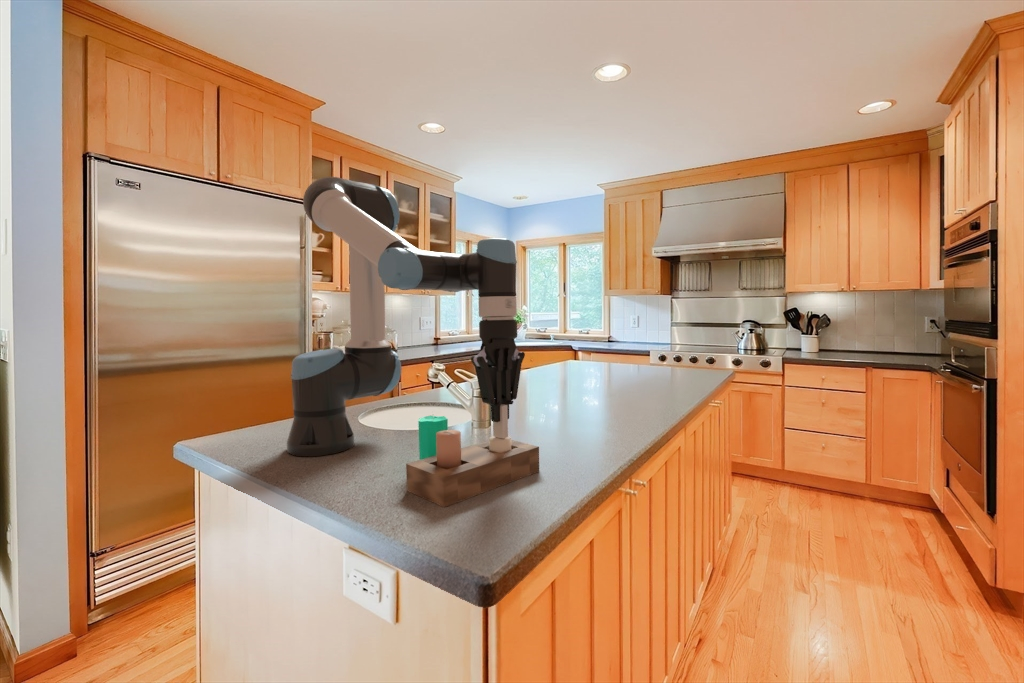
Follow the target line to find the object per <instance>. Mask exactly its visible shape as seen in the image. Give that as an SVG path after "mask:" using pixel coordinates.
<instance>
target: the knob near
mask: <svg viewBox="0 0 1024 683" xmlns="http://www.w3.org/2000/svg"><path fill="white" fill-rule="evenodd" d="M461 433H462V432H461V431H459V430H455V429H448V430H444V431H439V432H437V433H436V449H437V466H438V467H441V468H444V469H446V470H447V469H450V468H453V467H457V466H460V465H461V448H462V441H461V440H462V437H461V436H462V435H461Z"/></svg>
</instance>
